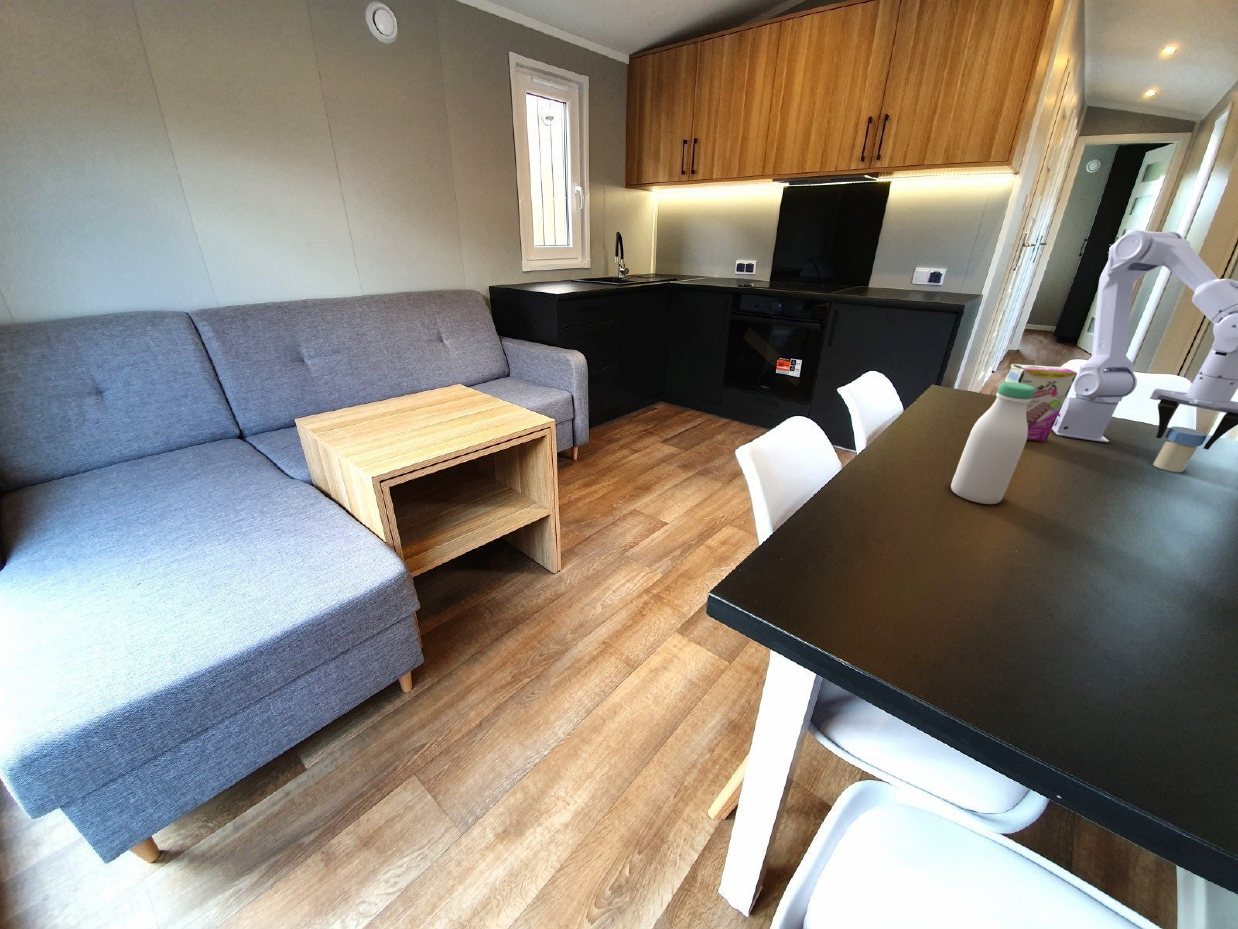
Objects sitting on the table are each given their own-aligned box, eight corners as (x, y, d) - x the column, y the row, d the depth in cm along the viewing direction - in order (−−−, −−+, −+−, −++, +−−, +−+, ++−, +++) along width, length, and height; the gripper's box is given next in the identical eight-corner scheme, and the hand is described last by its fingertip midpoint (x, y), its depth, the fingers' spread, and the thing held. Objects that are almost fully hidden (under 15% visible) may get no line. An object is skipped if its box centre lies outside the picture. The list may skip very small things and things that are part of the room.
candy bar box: (996, 439, 112) (1023, 368, 105) (983, 431, 116) (1009, 363, 109) (1048, 442, 111) (1079, 371, 104) (1033, 434, 115) (1062, 366, 108)
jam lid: (1205, 448, 95) (1211, 437, 94) (1169, 442, 97) (1175, 431, 96) (1195, 440, 99) (1201, 430, 98) (1161, 434, 101) (1167, 424, 100)
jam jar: (1159, 469, 99) (1178, 435, 96) (1148, 461, 103) (1166, 428, 100) (1187, 474, 98) (1208, 439, 94) (1176, 465, 101) (1195, 432, 98)
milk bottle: (1010, 508, 83) (1059, 394, 74) (960, 502, 84) (1003, 389, 75) (988, 487, 89) (1031, 380, 81) (942, 482, 91) (980, 376, 82)
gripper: (1162, 369, 95) (1128, 434, 101) (1278, 388, 85) (1233, 459, 90) (1169, 365, 99) (1136, 428, 105) (1281, 383, 88) (1238, 451, 94)
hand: (1182, 442), depth 98 cm, fingers open, 6 cm apart
